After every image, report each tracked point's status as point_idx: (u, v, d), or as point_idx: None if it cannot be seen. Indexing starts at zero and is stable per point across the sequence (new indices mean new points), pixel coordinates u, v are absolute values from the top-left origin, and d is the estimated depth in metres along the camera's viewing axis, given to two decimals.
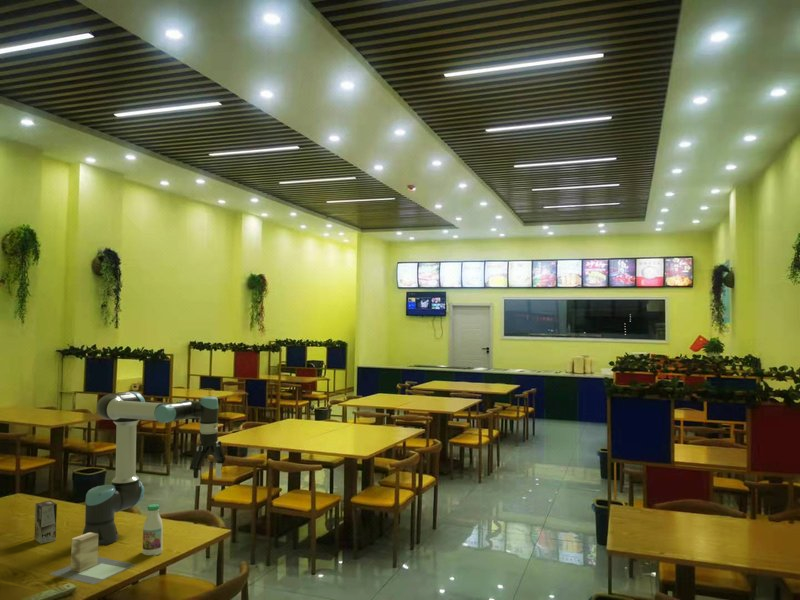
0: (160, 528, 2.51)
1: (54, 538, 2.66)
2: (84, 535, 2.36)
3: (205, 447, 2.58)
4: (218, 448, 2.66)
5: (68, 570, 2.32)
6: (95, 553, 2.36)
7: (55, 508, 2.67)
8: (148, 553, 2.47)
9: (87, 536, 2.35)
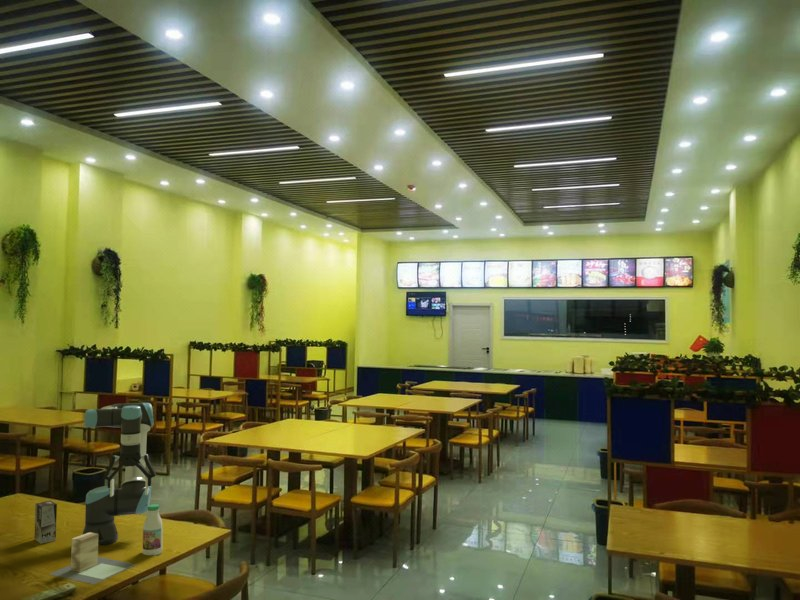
0: (160, 528, 2.51)
1: (54, 538, 2.66)
2: (84, 535, 2.36)
3: (121, 458, 2.47)
4: None
5: (68, 570, 2.32)
6: (95, 553, 2.36)
7: (55, 508, 2.67)
8: (148, 553, 2.47)
9: (87, 536, 2.35)
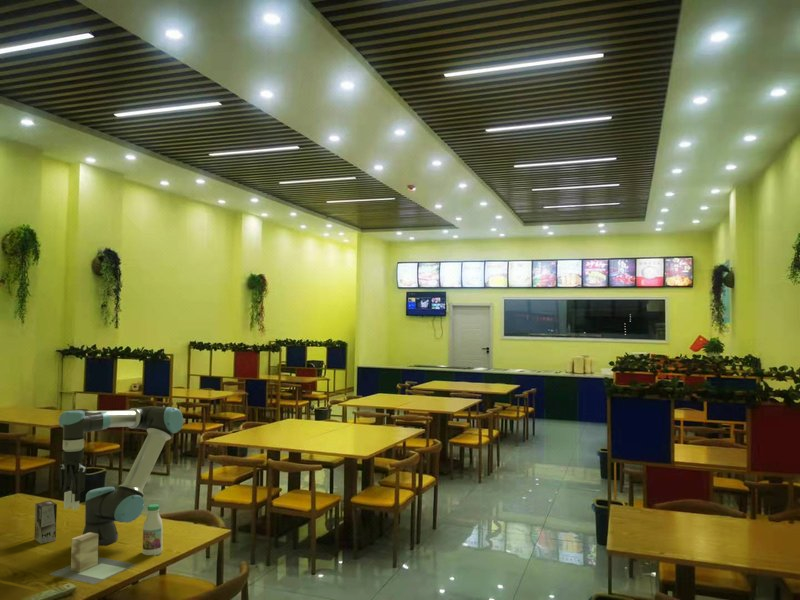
0: (160, 528, 2.51)
1: (54, 538, 2.66)
2: (84, 535, 2.36)
3: (64, 464, 2.40)
4: None
5: (68, 570, 2.32)
6: (95, 553, 2.36)
7: (55, 508, 2.67)
8: (148, 553, 2.47)
9: (87, 536, 2.35)
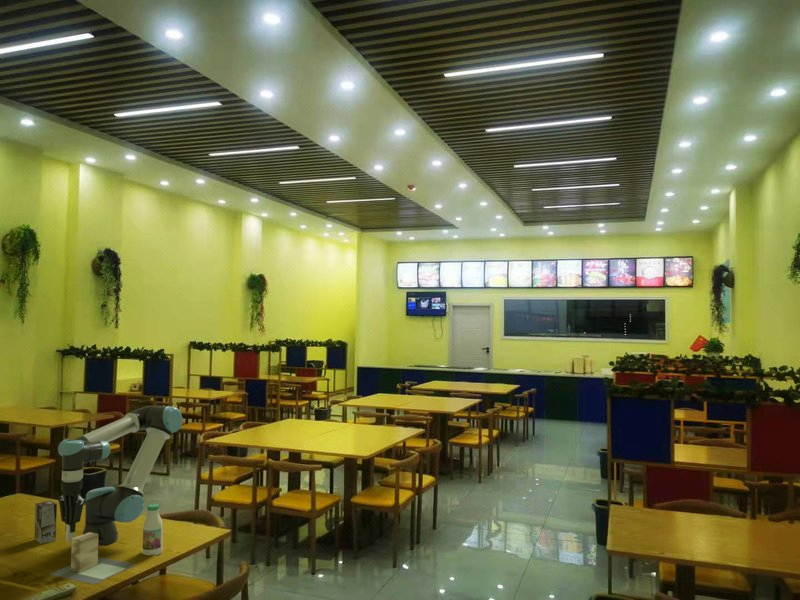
0: (160, 528, 2.51)
1: (54, 538, 2.66)
2: (84, 535, 2.36)
3: (63, 494, 2.39)
4: None
5: (68, 570, 2.32)
6: (95, 553, 2.36)
7: (55, 508, 2.67)
8: (148, 553, 2.47)
9: (87, 536, 2.35)
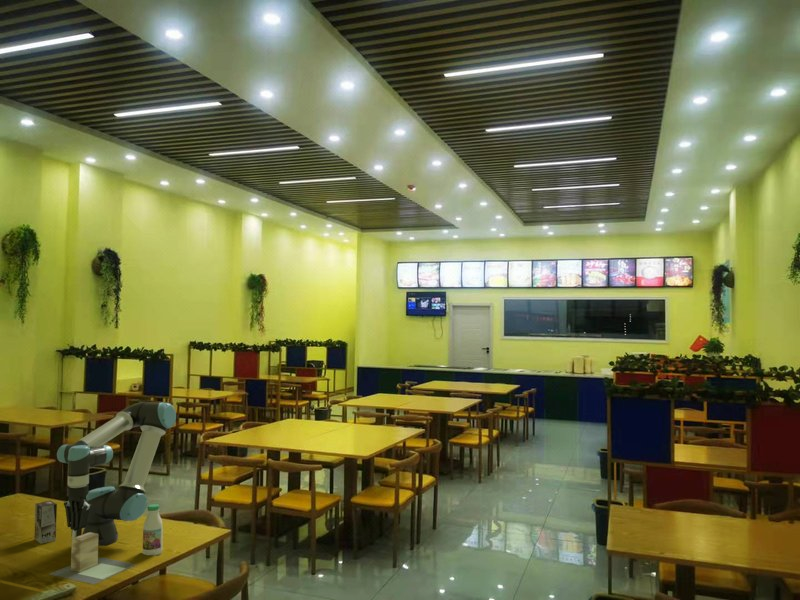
0: (160, 528, 2.51)
1: (54, 538, 2.66)
2: (84, 535, 2.36)
3: (69, 500, 2.38)
4: None
5: (68, 570, 2.32)
6: (95, 553, 2.36)
7: (55, 508, 2.67)
8: (148, 553, 2.47)
9: (87, 536, 2.35)
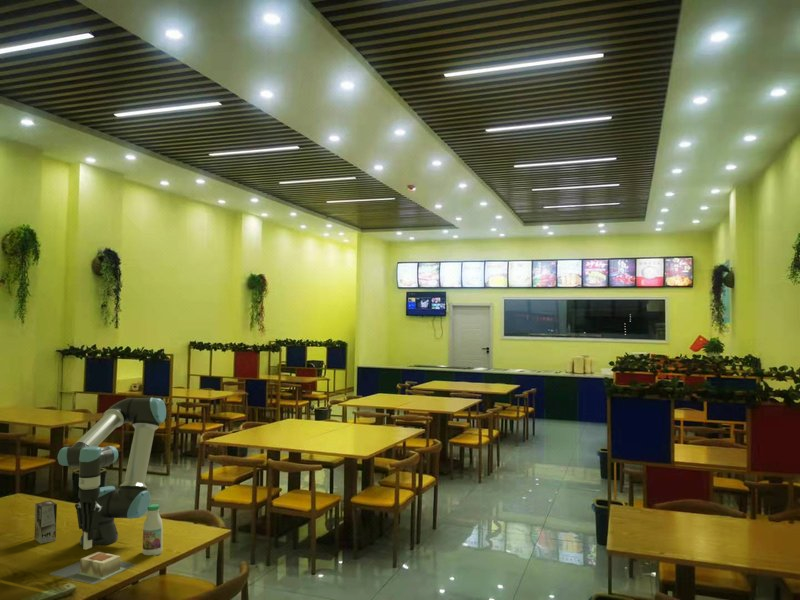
0: (160, 528, 2.51)
1: (54, 538, 2.66)
2: (113, 563, 2.30)
3: (80, 502, 2.35)
4: None
5: (68, 570, 2.32)
6: None
7: (55, 508, 2.67)
8: (148, 553, 2.47)
9: (112, 569, 2.29)
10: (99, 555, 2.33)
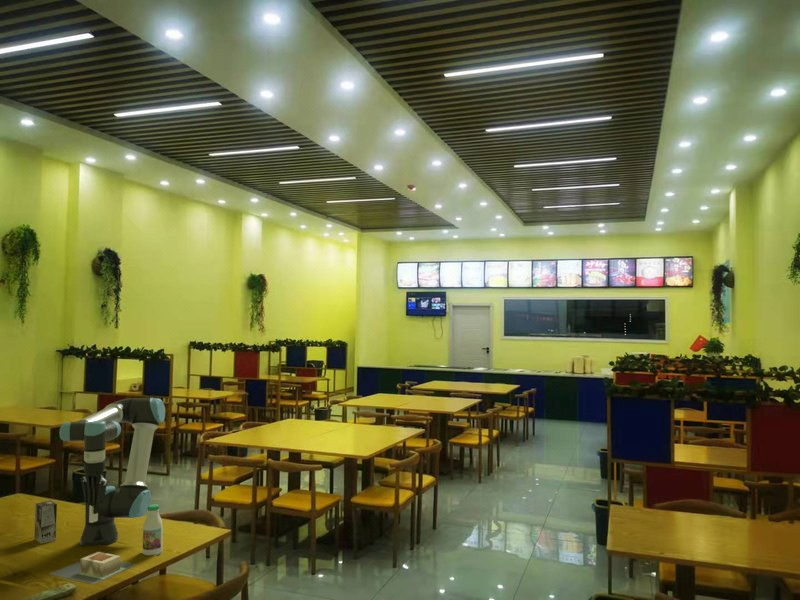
0: (160, 528, 2.51)
1: (54, 538, 2.66)
2: (113, 563, 2.30)
3: (86, 475, 2.35)
4: None
5: (68, 570, 2.32)
6: None
7: (55, 508, 2.67)
8: (148, 553, 2.47)
9: (112, 569, 2.29)
10: (99, 555, 2.33)
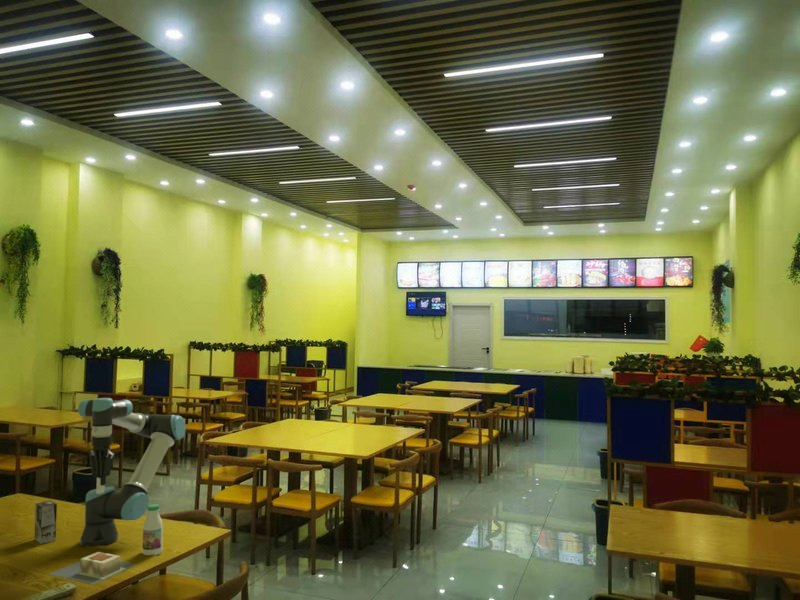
0: (160, 528, 2.51)
1: (54, 538, 2.66)
2: (113, 563, 2.30)
3: (93, 449, 2.49)
4: None
5: (68, 570, 2.32)
6: None
7: (55, 508, 2.67)
8: (148, 553, 2.47)
9: (112, 569, 2.29)
10: (99, 555, 2.33)
